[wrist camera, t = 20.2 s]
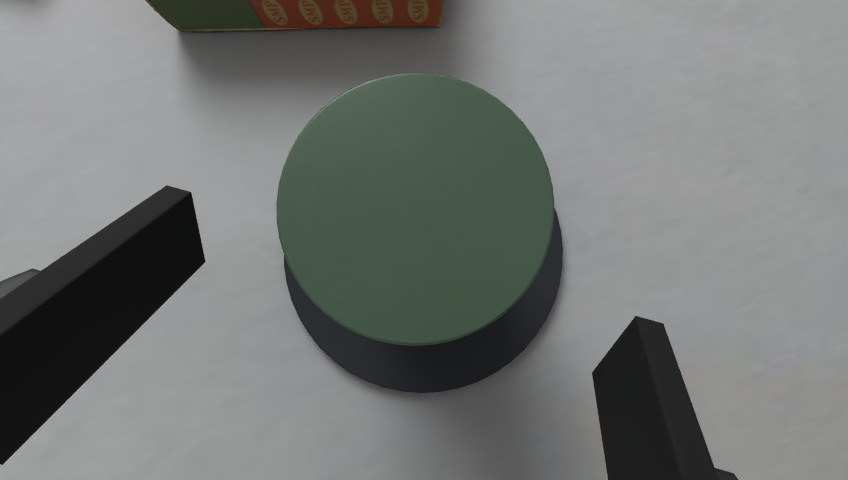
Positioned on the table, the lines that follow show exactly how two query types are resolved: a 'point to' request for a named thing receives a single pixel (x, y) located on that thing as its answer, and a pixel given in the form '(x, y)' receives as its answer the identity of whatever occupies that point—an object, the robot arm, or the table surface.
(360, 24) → the carton
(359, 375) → the mat
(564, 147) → the table surface
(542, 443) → the table surface
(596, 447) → the table surface
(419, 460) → the table surface
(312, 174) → the tea tin
